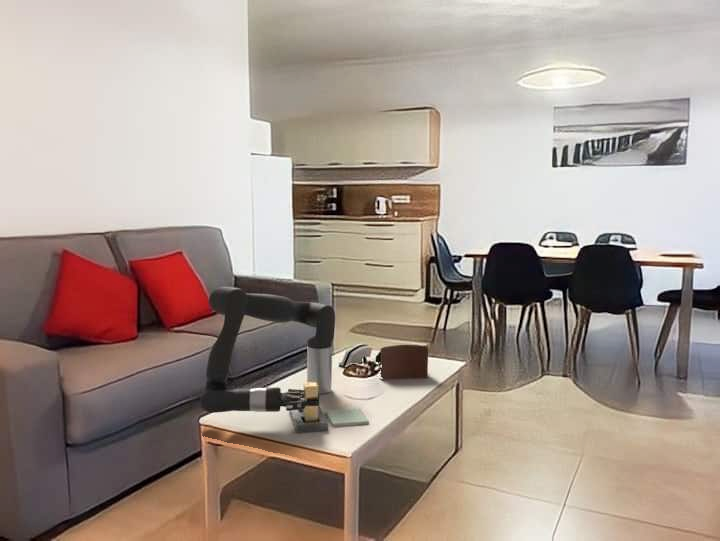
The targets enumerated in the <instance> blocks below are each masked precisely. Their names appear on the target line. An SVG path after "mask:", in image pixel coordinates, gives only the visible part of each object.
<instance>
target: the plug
mask: <svg viewBox="0 0 720 541" xmlns="http://www.w3.org/2000/svg"><path fill="white" fill-rule="evenodd" d="M303 390H304V391H303V398H306V399H308V398H318V385H317V383H316V382H308V383H307V382H303ZM308 422H318V406H307V407H305V409H303V423H308Z"/></svg>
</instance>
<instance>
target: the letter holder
mask: <svg viewBox="0 0 720 541" xmlns="http://www.w3.org/2000/svg"><path fill="white" fill-rule="evenodd" d="M376 362H378V363H379V362H382V368H381V373H380V374H381V377H382V378H383V379H387V380H411V379H413V380H414V379H415V380H416V379H428V375H429V374H428V373H429V371H428V367H429V366H428V365H429V348H428V346H426V345H419V344H397V345H389V346H388V345H387V346H384V347H381V349H380V350H379V352H378V353H377V355H376V356H375V363H376Z"/></svg>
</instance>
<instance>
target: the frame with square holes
mask: <svg viewBox="0 0 720 541" xmlns="http://www.w3.org/2000/svg"><path fill="white" fill-rule="evenodd" d="M288 412H289V416H290V418H291V421H292V424H293V427H294V429H295V433H296V434H302V433H303V434H304V433H315V432H316V431H319V432H329V422H328V419H327V417H326V416H325V414H324V412H323V410H322V408H321V406H320V405H319V406H318V422H308V423H303V409H300V410H291V411H288Z"/></svg>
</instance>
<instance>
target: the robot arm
mask: <svg viewBox="0 0 720 541" xmlns="http://www.w3.org/2000/svg"><path fill="white" fill-rule="evenodd" d="M208 302H209V305H210V306H209V307H211V309H212V310H213V311H214V312H215V313H216V314H218V315H222V316H224V318H223V319H224V320H223V325H222V328H221V331H220V333H219V336H218V337H217V339H216V340H215V342H214V344H212V347H211V350H210V352H209V355H208V359H207V360H208V361H207V367H206V373H205V377H206V383H205V389H204V392H203V393H202V394H201V395H200V398H199V405H200V407H201V409H202V410H203V411H204V412H206V413H224V412H225V413H226V412H227V413H228V412H234V411H235V412H255V413H256V412H257V413H258V412H259V413H269V412H270V413H272V412H273V413H275V412H277V413H279V412H280V411H281V407H283V408H285V411H287V412H289V411H291V410H300V409H305V407H307V406H320V395H323V394H328V393H331V392H332V383H333V382H332V376H333V373H332V372H333V370H332V367H333V366H332V365H333V341H334V338H335V330H336V329H335V326H336V313H335V309H334V308H333V306H331V305H330V304H326V303H322V302H321V303H320V302H309V301H307V302H306V301H305V302H304V301H296V300H293V299H291V298H288V297H286V296H282V295H276V294H268V293H247V292H245V291H244V290H243V289H242V288H239V287H234V286H233V287H231V286H220V287H217V288H215V289H214V290H213V291H212V292H211V293H210V295H209V299H208ZM245 316H248V317H250V318H254V319H258V320H261V321H267V322H272V323H280V324H281V323H283V324H286V323H289V322H296V323H298V324H303V325H306V326H308V327H311V328H316V330H315V335H311V336H310V337H308V338H307V343H306V344H307V346H306V349H307V351H306V352H307V354H306V355H307V360H306V362H307V364H306V383H308V382H316V383H317V385H318V398H308V399H306V398H303V391H304V389H296V388H294V389H293V388H288V389H287V391H286V392H281V391H282V390H281V388H280V387H254V388H235V389H231V390H230V389H229V390H228V378H229V374H230V370H231V369H230V368H231V362H232V357H233V353H234V348H235V345H236V341H237V338H238V336H239V332H240V330H241V327H242V323H243V321H244V318H245Z"/></svg>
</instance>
